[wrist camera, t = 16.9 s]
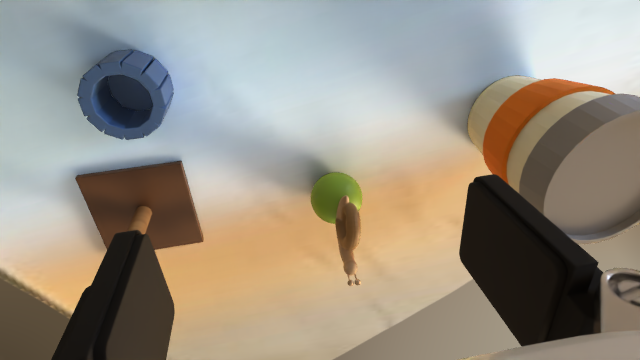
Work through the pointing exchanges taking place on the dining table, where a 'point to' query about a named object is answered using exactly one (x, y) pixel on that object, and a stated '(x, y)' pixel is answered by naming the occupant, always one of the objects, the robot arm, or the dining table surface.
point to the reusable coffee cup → (564, 151)
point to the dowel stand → (143, 203)
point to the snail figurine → (340, 213)
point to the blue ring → (112, 113)
